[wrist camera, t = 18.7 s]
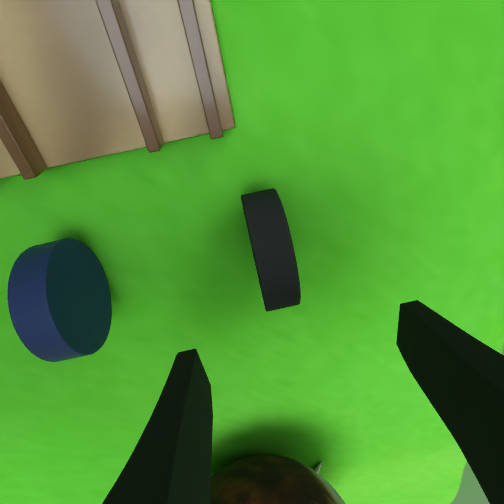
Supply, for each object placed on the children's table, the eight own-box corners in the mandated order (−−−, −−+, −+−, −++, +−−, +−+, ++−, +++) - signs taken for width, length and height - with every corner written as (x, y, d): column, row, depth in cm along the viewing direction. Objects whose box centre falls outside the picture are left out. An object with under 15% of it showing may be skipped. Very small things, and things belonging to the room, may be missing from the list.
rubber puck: (253, 258, 22) (271, 335, 17) (236, 174, 18) (252, 245, 13) (279, 252, 22) (304, 328, 17) (267, 167, 18) (295, 236, 13)
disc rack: (-25, 181, 17) (-54, 197, 15) (-134, 20, 13) (-189, 16, 11) (234, 124, 17) (237, 133, 15) (199, -51, 13) (198, -68, 12)
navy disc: (94, 304, 22) (59, 387, 17) (45, 224, 19) (-19, 296, 13) (120, 299, 22) (93, 380, 17) (76, 218, 19) (24, 287, 13)
